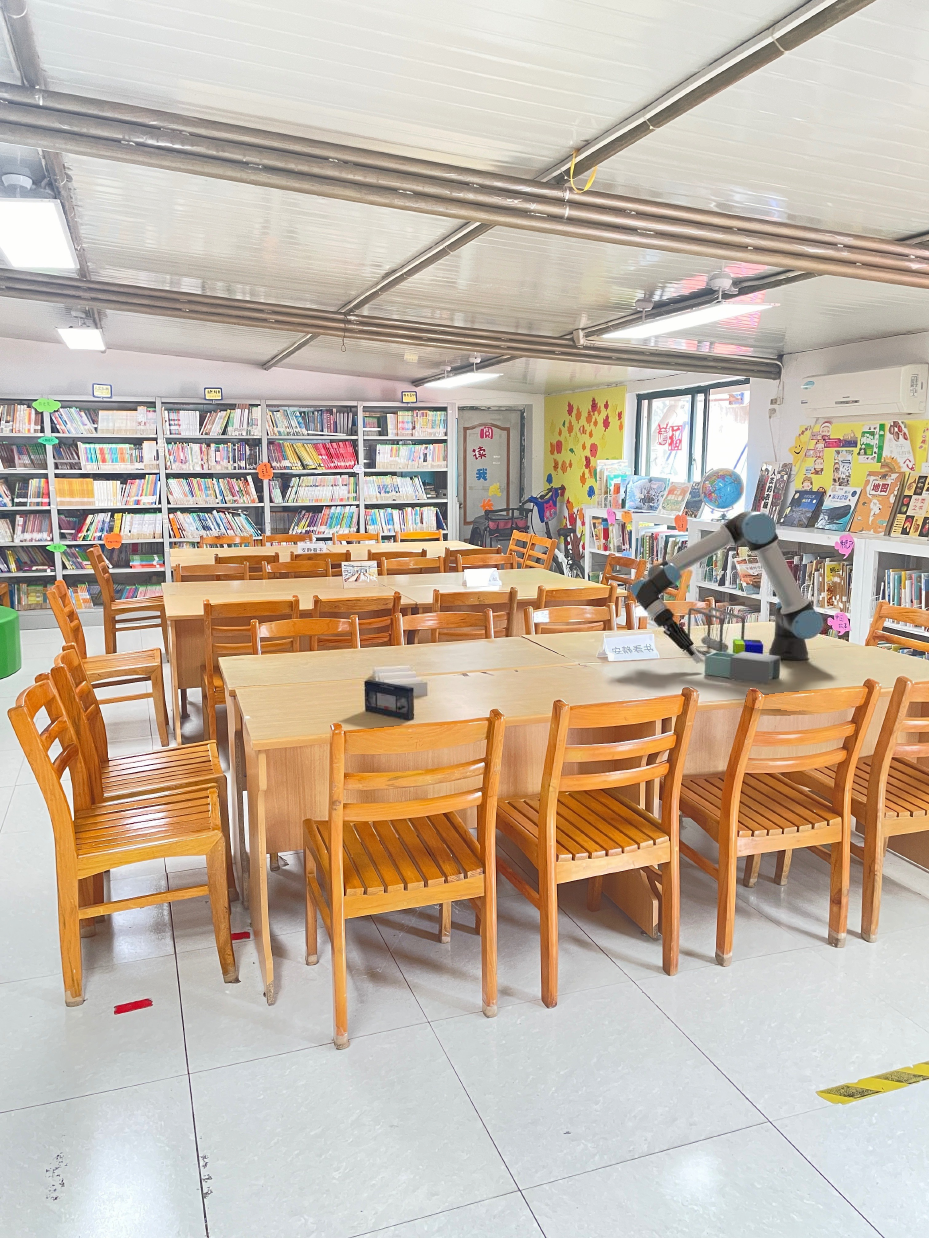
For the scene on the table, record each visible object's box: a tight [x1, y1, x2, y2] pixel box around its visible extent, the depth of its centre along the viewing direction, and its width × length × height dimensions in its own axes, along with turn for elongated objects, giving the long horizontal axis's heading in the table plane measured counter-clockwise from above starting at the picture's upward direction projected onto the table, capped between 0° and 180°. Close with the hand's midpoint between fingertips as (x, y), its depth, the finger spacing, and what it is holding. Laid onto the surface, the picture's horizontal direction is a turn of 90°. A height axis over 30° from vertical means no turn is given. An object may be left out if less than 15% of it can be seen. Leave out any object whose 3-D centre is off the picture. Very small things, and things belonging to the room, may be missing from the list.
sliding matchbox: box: [704, 650, 774, 680], centre depth 323 cm, size 22×10×7 cm, turn 53°
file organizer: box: [372, 665, 428, 697], centre depth 310 cm, size 13×35×5 cm, turn 15°
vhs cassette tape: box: [363, 679, 415, 721], centre depth 270 cm, size 18×3×10 cm, turn 52°
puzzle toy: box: [732, 638, 764, 654], centre depth 338 cm, size 10×10×10 cm
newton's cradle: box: [686, 606, 746, 656], centre depth 363 cm, size 30×10×18 cm, turn 11°
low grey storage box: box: [729, 652, 782, 686], centre depth 319 cm, size 14×12×8 cm
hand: (699, 661), depth 331 cm, fingers closed
